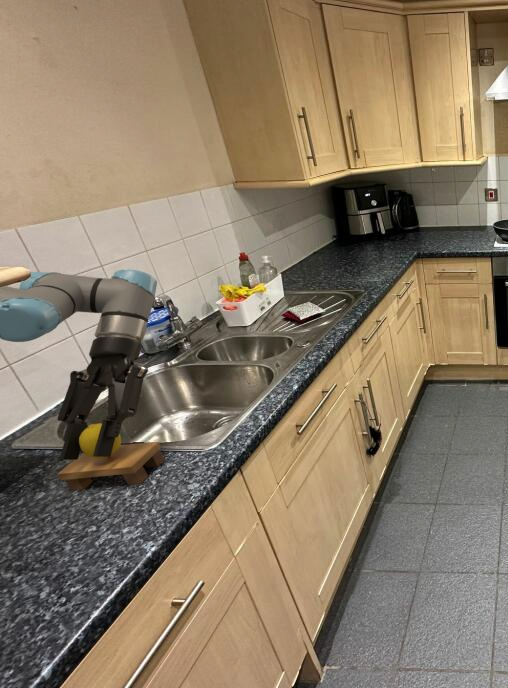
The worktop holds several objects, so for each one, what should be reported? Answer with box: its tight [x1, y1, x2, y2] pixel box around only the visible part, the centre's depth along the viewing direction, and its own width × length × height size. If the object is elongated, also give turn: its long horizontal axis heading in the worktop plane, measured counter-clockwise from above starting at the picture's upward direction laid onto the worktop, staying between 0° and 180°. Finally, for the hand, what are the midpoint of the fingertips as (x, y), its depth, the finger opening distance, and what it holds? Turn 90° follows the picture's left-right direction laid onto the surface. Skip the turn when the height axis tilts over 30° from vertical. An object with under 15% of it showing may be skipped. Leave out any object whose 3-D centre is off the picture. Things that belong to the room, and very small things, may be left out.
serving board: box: [56, 441, 166, 491], centre depth 82 cm, size 14×7×5 cm, turn 93°
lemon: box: [79, 422, 122, 459], centre depth 80 cm, size 6×6×8 cm
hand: (85, 457), depth 76 cm, fingers closed on lemon, 5 cm apart
